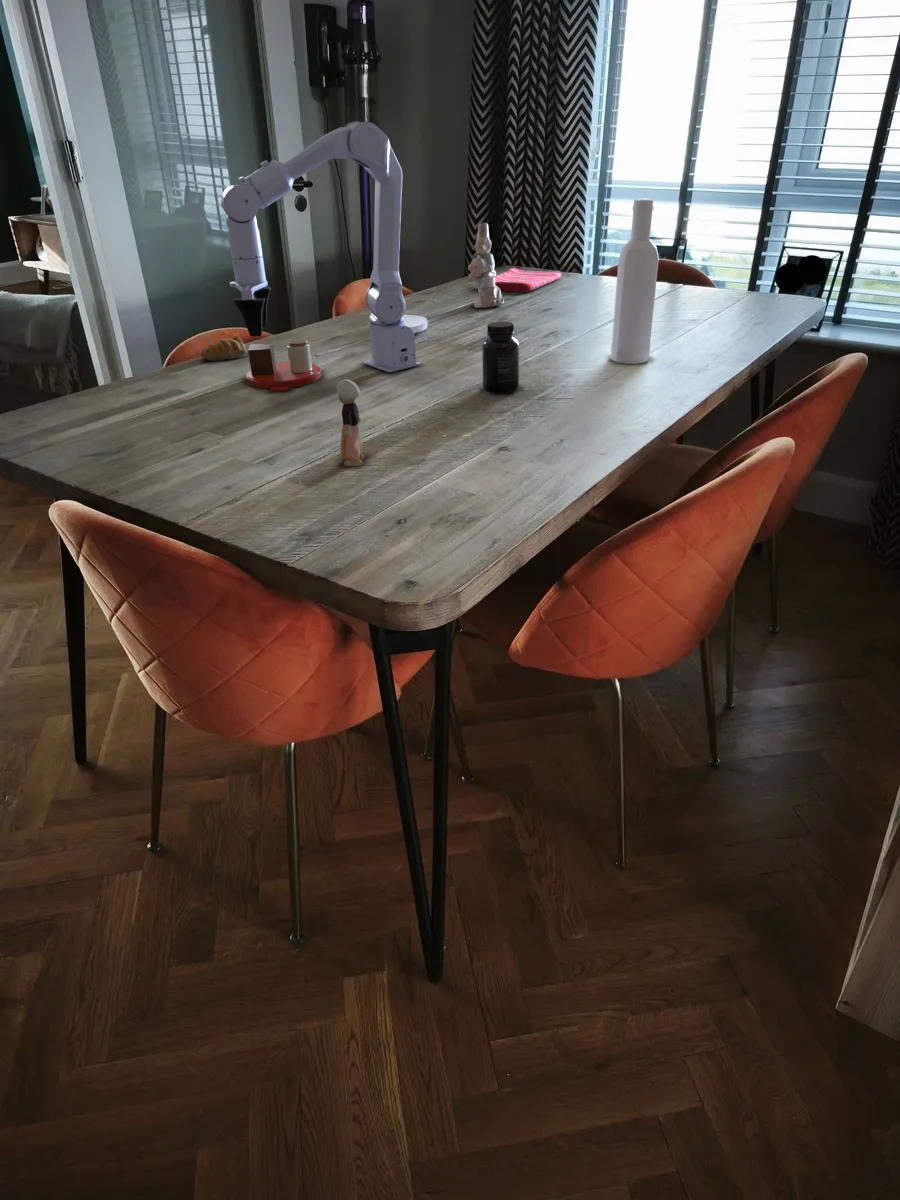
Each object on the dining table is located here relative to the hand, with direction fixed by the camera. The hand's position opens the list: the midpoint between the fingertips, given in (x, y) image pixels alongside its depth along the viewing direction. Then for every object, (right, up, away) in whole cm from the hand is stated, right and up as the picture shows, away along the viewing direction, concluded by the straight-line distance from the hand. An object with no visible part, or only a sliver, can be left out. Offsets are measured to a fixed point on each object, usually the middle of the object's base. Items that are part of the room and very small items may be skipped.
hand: (258, 331), depth 157 cm
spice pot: (+8, -6, +5) cm, 11 cm away
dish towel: (+59, +41, +81) cm, 108 cm away
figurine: (+48, +26, +57) cm, 79 cm away
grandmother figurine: (+23, -32, -34) cm, 52 cm away
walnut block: (0, -7, +4) cm, 8 cm away
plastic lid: (+25, +11, +35) cm, 45 cm away
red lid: (+4, -8, +5) cm, 10 cm away
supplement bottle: (+47, -13, -5) cm, 49 cm away
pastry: (-12, +1, +20) cm, 23 cm away
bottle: (+75, -3, +10) cm, 76 cm away
